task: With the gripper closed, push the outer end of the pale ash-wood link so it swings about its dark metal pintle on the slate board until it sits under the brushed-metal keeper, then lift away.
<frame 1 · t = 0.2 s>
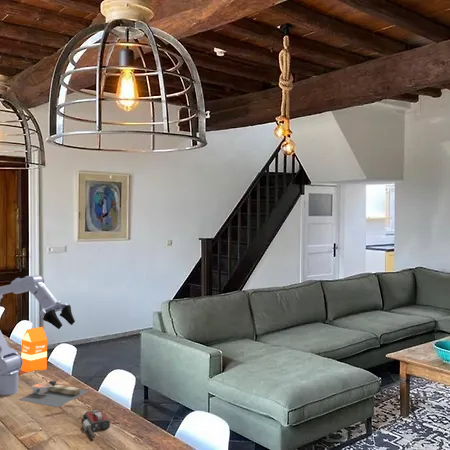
hand: (66, 325, 196), 31 cm above the table, tool tilted 45°, fingers open, 7 cm apart
keeper: (52, 393, 209), resting on board
orange juice: (34, 370, 241), on the table
board: (54, 397, 204), on the table
walkie-talkie: (96, 428, 176), on the table
link: (63, 387, 207), point 3 cm above the table, hinge at 0.0°
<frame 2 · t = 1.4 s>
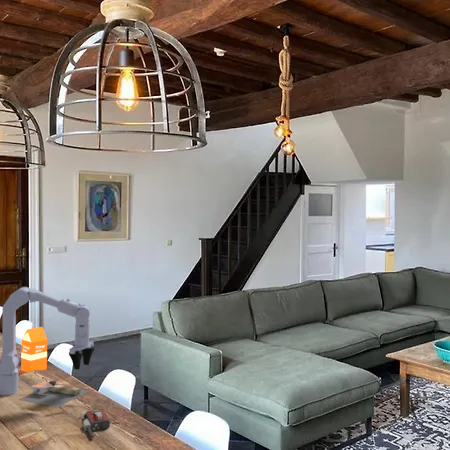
hand: (81, 366, 212), 10 cm above the table, tool pointing down, fingers open, 6 cm apart
nothing on the table moved.
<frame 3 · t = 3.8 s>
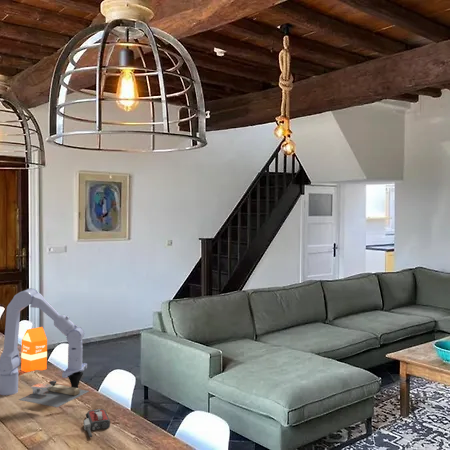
hand: (74, 390, 207), 2 cm above the table, tool pointing down, fingers closed, pressing on link
link: (63, 387, 207), point 3 cm above the table, hinge at 0.9°, touching gripper
everything else where it was.
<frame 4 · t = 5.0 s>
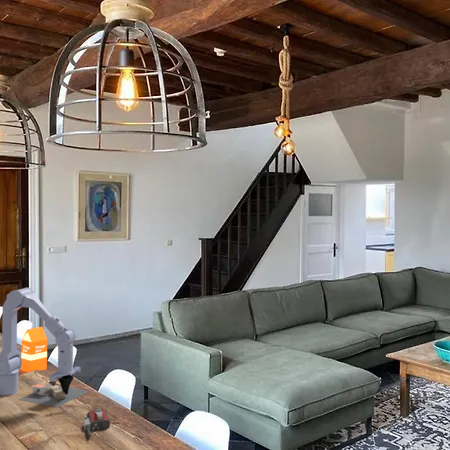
hand: (65, 394, 202), 2 cm above the table, tool pointing down, fingers closed, pressing on link
link: (56, 389, 204), point 3 cm above the table, hinge at 35.6°, touching gripper
everything else where it was.
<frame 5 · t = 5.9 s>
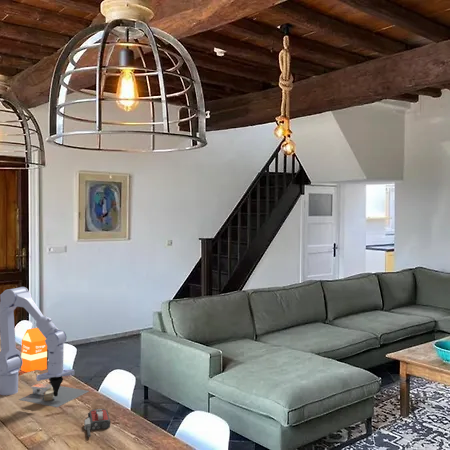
hand: (55, 395, 200), 2 cm above the table, tool pointing down, fingers closed, pressing on link
link: (50, 390, 204), point 3 cm above the table, hinge at 57.8°, touching gripper
everything else where it was.
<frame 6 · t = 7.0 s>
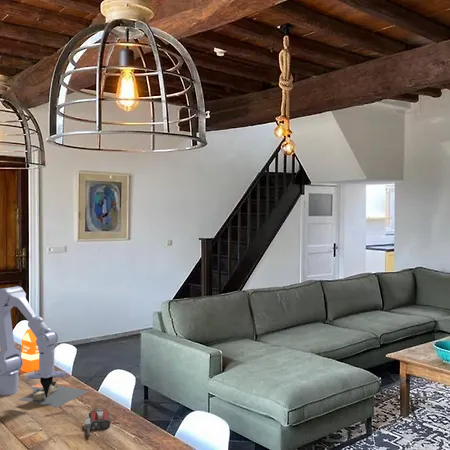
hand: (46, 396, 199), 2 cm above the table, tool pointing down, fingers closed
link: (45, 390, 204), point 3 cm above the table, hinge at 78.7°, touching gripper
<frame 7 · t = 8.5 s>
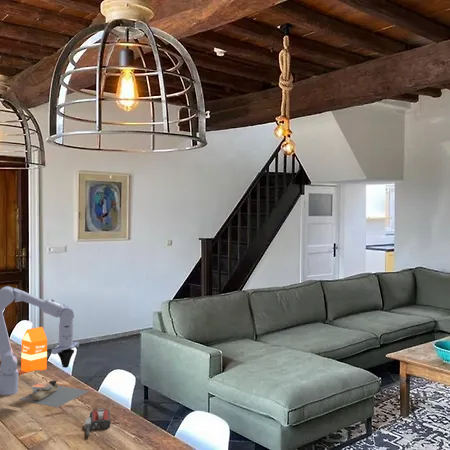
hand: (65, 367, 214), 9 cm above the table, tool pointing down, fingers closed
link: (45, 390, 204), point 3 cm above the table, hinge at 79.9°
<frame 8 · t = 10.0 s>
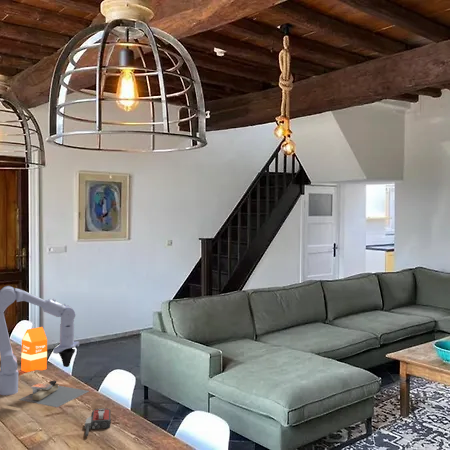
hand: (66, 366, 215), 9 cm above the table, tool pointing down, fingers closed
at the end: link at +80° (first picture: +0°) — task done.
